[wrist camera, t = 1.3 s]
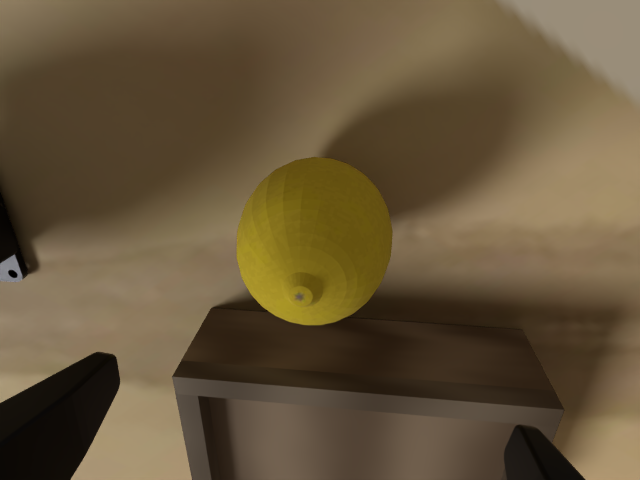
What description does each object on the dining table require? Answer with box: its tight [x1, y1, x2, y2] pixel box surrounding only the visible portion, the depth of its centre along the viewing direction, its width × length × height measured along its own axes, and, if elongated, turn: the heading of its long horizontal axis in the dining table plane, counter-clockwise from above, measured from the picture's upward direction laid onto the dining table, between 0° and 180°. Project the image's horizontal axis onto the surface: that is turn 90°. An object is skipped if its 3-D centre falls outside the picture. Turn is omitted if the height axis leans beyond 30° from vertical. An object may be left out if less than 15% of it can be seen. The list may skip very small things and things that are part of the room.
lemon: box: [237, 157, 392, 325], centre depth 15 cm, size 6×6×8 cm
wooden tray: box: [172, 308, 564, 480], centre depth 22 cm, size 16×12×5 cm
